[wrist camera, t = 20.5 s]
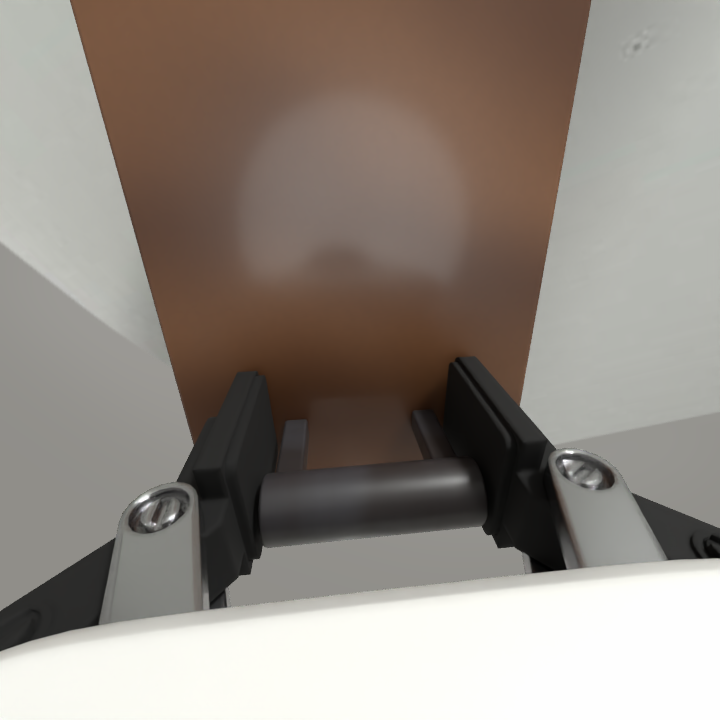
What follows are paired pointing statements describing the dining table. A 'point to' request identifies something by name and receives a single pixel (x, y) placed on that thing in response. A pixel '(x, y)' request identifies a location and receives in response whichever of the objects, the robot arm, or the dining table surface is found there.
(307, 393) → the lid
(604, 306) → the dining table surface
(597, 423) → the dining table surface
